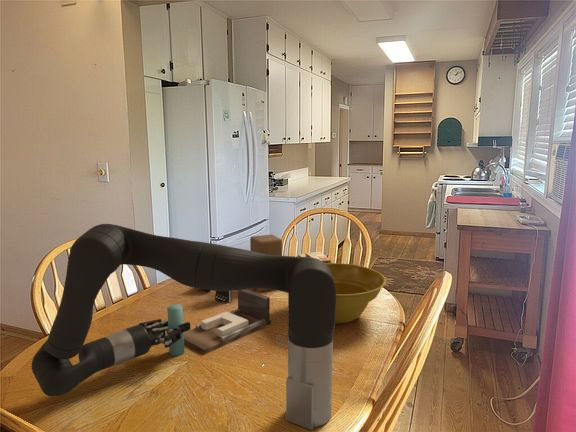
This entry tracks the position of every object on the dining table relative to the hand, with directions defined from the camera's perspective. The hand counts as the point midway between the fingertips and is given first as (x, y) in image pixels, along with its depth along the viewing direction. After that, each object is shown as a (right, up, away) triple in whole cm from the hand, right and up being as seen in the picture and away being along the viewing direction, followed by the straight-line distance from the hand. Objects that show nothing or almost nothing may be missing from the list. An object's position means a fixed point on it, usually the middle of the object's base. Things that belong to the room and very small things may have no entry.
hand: (184, 323), depth 118 cm
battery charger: (+5, -1, +37) cm, 37 cm away
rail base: (+10, -5, +12) cm, 17 cm away
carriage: (+9, -4, +12) cm, 15 cm away
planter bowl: (+44, -4, +24) cm, 50 cm away
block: (+20, +1, +52) cm, 55 cm away
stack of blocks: (+39, +2, +58) cm, 70 cm away
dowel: (-2, -8, -1) cm, 8 cm away
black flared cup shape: (-4, +1, +52) cm, 53 cm away
